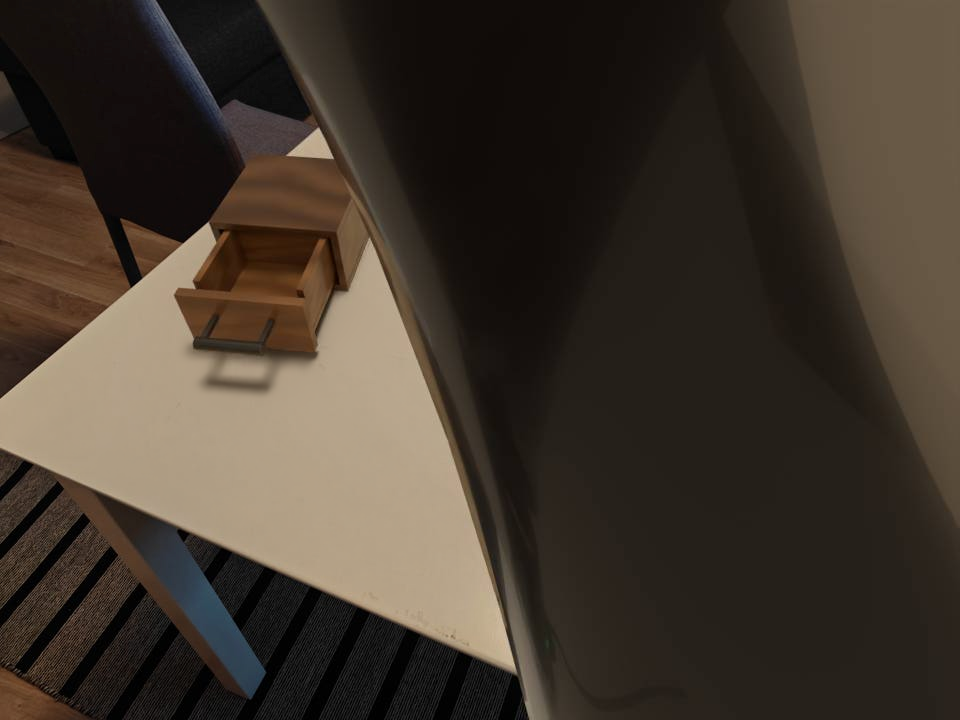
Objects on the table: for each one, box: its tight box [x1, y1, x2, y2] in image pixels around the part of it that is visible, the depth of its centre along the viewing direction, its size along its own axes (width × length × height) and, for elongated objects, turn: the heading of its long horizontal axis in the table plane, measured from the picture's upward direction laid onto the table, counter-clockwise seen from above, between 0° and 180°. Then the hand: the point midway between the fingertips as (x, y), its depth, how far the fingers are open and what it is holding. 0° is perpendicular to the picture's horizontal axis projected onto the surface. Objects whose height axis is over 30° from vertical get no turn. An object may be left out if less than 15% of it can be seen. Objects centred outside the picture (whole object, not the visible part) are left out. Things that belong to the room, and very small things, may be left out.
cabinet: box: [208, 153, 370, 292], centre depth 80 cm, size 15×15×9 cm
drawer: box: [173, 229, 338, 357], centre depth 71 cm, size 18×14×7 cm
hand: (646, 581), depth 45 cm, fingers open, 8 cm apart
